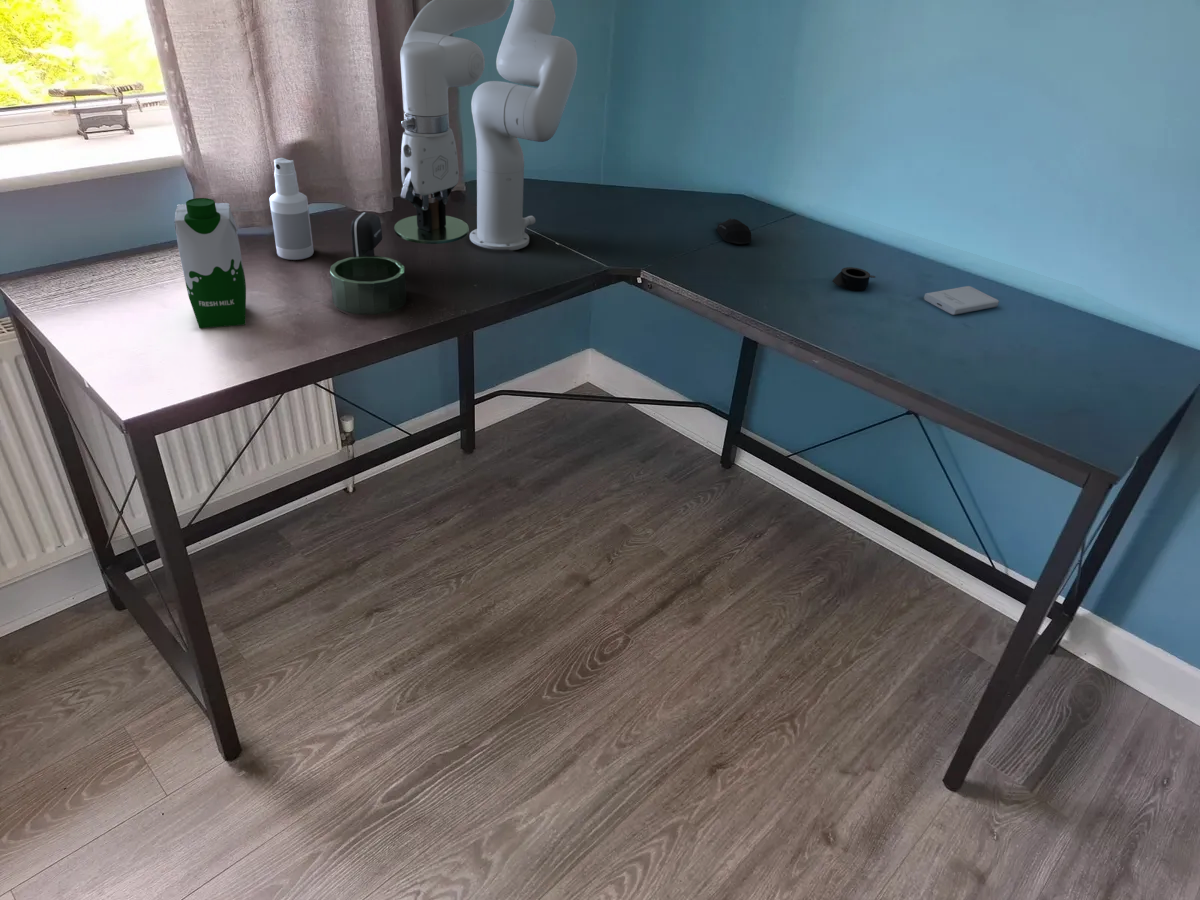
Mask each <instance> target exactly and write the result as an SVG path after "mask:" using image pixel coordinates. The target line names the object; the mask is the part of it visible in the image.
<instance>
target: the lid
mask: <svg viewBox="0 0 1200 900" xmlns="http://www.w3.org/2000/svg"><path fill="white" fill-rule="evenodd" d="M428 209H430V210H431V217H432V230H431V231H429V232H428V231H426V230H423V229H420V228H418V226H417V214H416V215H412V216H411V215H410V216H408V217H405V218H401V219H399V220H398V221H397V222H396V223H395V224H394V227H393V229H394V233H395V235H396V236H398V237H399V238H400V239H401V240H402V239H403V240H405V241H408V242H411V243H415V244H422V245H423V244H424V245H441V244H449V243H453V242H457V241H460V240H462V239H464V238H465V237H467V236H468V234H469V233H470V227H469V225H468V223H466V222H465V221H464V220H462V219H460V218H457V217H455V216H450V215H446V226H440V225H439V203H438V199H435V198H433V197H429V206H428Z"/></svg>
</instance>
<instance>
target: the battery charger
mask: <svg viewBox="0 0 1200 900" xmlns="http://www.w3.org/2000/svg"><path fill="white" fill-rule="evenodd" d="M382 229H383V228H382V222H381V218H380V216H379V215H378V214H376V213H369V212H360V213H359V214H357V215H356V216H355V217H354V218H353V220H352V221H351V224H350V232H351V244H352V245H351V246H352V254H353V255H352V257H357V256H376V255H375V248H376V247H377V246H378V245H379V244H380V243H381V242H382V241H383V230H382Z"/></svg>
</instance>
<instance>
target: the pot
mask: <svg viewBox="0 0 1200 900" xmlns="http://www.w3.org/2000/svg"><path fill="white" fill-rule="evenodd" d="M329 278H330V286H331V297H332V303H333V304H334V306H335V307H336V309H339V310H338V312H340V313H342V314H344V315H346V316H348V315H349V314H354V315H359V316H360V315H361V316H378V315H382V314H383V315H384V314H389V313H393V312H394V311H397V310H400V309H402V307H403V306H404V305H405V304H407V286H406V285H407V283H406V267H405V266H404V264H402V263H401V261H399V260H396V259H393V258H391V257H387V256H386V257H385V256H381V255H375V256H357V257H354V256H350V257H347V258H343V259H340V260H337V261H336V262H334V263H333V264H332V265H331V266H330V270H329ZM347 313H348V314H347Z"/></svg>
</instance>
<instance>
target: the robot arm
mask: <svg viewBox="0 0 1200 900" xmlns="http://www.w3.org/2000/svg"><path fill="white" fill-rule="evenodd" d="M512 1H513V7H512V10H511V13H510V17H509V19H508V22H507V25H506V28H505V31H504V34H503V36H502V39H501V42H500V44H499V48H498V51H497V55H496V59H495V60H496V61H495V66H496V67H495V68H496V71H497V73H498V74H499V76H501V78H503V79H504V80H506V81H500V80H488V81H484V82H483V83H481V84H479V85H478V86H477V87H476V88H475V89H474V91H473V93H472V96H471V105H470V107H471V115H472V116H471V117H472V121H473V122H472V123H473V126H474V127H473V128H474V133H475V142H476V143H475V144H476V228H475V229H474V230H472V231H471V232H469V240H470V242H471V243H473V244H474V245H476V246H478V247H481V248H485V249H490V250H500V251H502V250H506V251H507V250H508V251H518V250H520V249H521V250H522V249H524V248H526V247H527V246H528V245H529V243H530V236H529V235H528V233H526V232H525V230H526V228H527V227H530V226H532V225H535V224H536V217H535V216H533V215H528V216H526V217H523V215H524V214H523V213H524V179H525V156H524V152H523V149H522V146H521V144H520V142H519V141H520V140H519V139H521V140H525V141H531V142H536V143H545V142H548V141H550V140H551V139H552V138H553V137H554V135H555V134H556V132H557V131H558V128H559V125H560V122H561V121H562V117H563V115H564V111H565V108H566V107H567V104H568V100H569V98H570V95H571V91H572V89H573V86H574V84H575V80H576V76H577V70H578V54H577V50H576V47H575V46H574V44H573V43H572V41H570V40H568V39H567V38H566V37H562V36H557V35H552V33H553V30H554V27H555V23H556V17H557V16H556V11H555V7H554V5H553V2H552V0H430V1H429V2H427V4H425V5H424V6H423V7H422V8H421V9H420V11H419V12H418V13H417V14H416V17H415V18H414V19H413V21H412V23H411V25H410V27H409V28H408V31H407V33H406V35H405V37H404V40H403V42H402V46H401V48H400V51H399V59H400V60H399V61H400V76H401V91H402V109H403V120H402V121H401V124H400V125H401V127H402V129H403V130H404V131H403V132H402V138H401V146H400V147H401V148H400V149H401V150H400V151H401V152H400V173H401V176H400V177H401V184H402V188H401V192H400V199H402V200H405V201H408V202H409V203H411V204H412V206H413V207H414V208H415V209H416V210H415V211H416V213H415V214H416V215H417V226H418V228H420V229H423V230H426V231H428V232H429V231H431V230H432V217H431V210H430V209H428V206H429V198H430V197H429V196H430V195H431V197H432V198H435V199H438V203H439V225H440V226H446V216H447V214H446V213H447V212H446V211H447V209H446V205H447V204H448V202H449V197H450V195H451V193H452V190H454V188H455V187H456V186H457V185H458V183H459V180H460V178H459V177H460V175H459V173H460V172H459V160H458V152H457V151H458V150H457V144H456V139H455V135H454V132H453V129H452V128H451V127H450V112H449V89H450V88H465V87H469V86H472V85H474V84H476V83H477V82H478V81H479V80H480V79H481V77H482V76H483V74H484V70H485V66H486V65H485V64H486V60H485V54H484V52H483V50H482V48H481V47H480V46H479V45H478V44H477V43H475V42H474V41H472V40H470V39H467V38H463V37H459V36H458V37H457V36H451V35H452V34H454V33H456V32H459V31H461V30H465V29H468V28H473V27H478V26H482V25H486V24H488V23H492V22H494V21H497V20H499V19H500V18H501V19H502V17H503V16H504V15H505V14H506V12H507V10H508V8H509V6H510V5H511V3H512ZM508 81H509V82H508Z"/></svg>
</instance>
